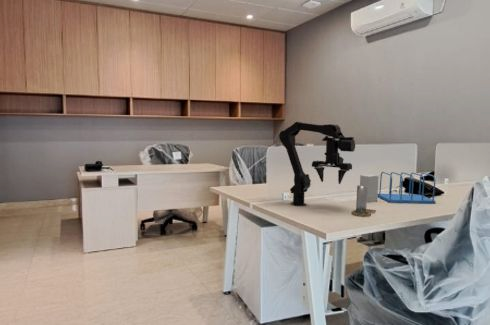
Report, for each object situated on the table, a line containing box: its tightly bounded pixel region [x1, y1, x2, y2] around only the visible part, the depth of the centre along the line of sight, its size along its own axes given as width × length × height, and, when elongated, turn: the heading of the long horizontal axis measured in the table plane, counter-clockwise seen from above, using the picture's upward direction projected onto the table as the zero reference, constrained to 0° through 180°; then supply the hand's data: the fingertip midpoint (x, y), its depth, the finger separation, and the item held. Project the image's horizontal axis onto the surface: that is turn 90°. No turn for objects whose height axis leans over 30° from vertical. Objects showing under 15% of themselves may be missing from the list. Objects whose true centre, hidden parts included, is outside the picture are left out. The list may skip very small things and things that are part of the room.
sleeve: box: [355, 184, 368, 214], centre depth 158 cm, size 4×4×13 cm
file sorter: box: [377, 171, 437, 205], centre depth 196 cm, size 25×17×15 cm
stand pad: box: [366, 208, 377, 215], centre depth 166 cm, size 8×8×1 cm
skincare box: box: [359, 173, 380, 203], centre depth 189 cm, size 8×6×15 cm
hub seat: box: [350, 209, 372, 218], centre depth 159 cm, size 11×11×2 cm
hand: (330, 182), depth 169 cm, fingers open, 9 cm apart
